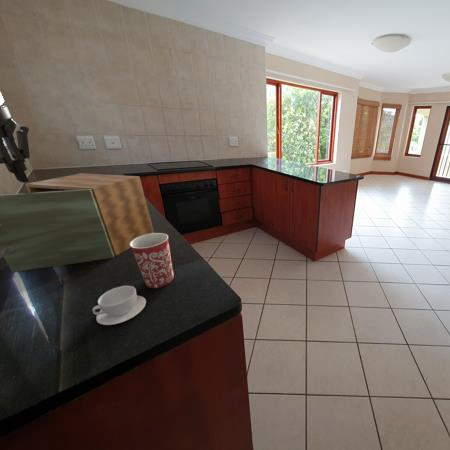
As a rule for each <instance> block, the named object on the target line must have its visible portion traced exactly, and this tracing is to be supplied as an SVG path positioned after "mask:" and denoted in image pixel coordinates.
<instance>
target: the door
mask: <svg viewBox="0 0 450 450" xmlns="http://www.w3.org/2000/svg"><path fill="white" fill-rule="evenodd" d="M115 257H116V256H115V255H114V253H113V250H112V247H111V244H110V241H109V238H108V235H107V232H106V230H105V227H104V224H103V221H102V218H101V215H100V212H99V209H98V207H97V204H96V201H95V198H94V195H93V192H92V189H83V190H67V191H52V192H36V193H29V192H23V193H22V192H21V193H8V194H7V193H6V194H0V259H4V261H5V262H6V264H7V266H8V267H9V269H10V271H11V273H18V272H25V271H30V270H31V271H32V270H39V269H45V268H51V267H59V266H65V265H73V264H80V263H86V262H94V261H100V260H101V261H102V260H107V259H114V258H115Z"/></svg>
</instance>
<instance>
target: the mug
mask: <svg viewBox="0 0 450 450" xmlns="http://www.w3.org/2000/svg"><path fill="white" fill-rule="evenodd" d="M129 245H130V247H131V248H130V249H131V251H132V254H133V255H134V256H133V257H134V258H135V261H136V263H137V266H138V268H139V271H140V274H141V276H142V279H143V281H144V284H145V286H146V287H147V288H150V289H160V288H163V287H166V286H167V285H169V284H170V283H171V282H173V280H174V278H175V275H174V267H173V262H172V257H171V249H170V244H169V235H168V234H167V233H163V232H154V233H151V234H146V235H142V236H140V237H137V238H135V239H134V240H132V241H131V242H130V244H129Z"/></svg>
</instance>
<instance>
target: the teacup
mask: <svg viewBox="0 0 450 450" xmlns="http://www.w3.org/2000/svg"><path fill="white" fill-rule="evenodd" d="M146 304H147V300H146V298H145V297H144V296H141V295H137V289H136V287H134V286H132V285H121V286H117V287H114V288H112V289H109V290H107V291H105V292H104V293H103V294H102V295H100V297H99V298H98V300H97V305H95V306H94V307H93V308H92V314H94V316H96V317H95V319H96V322H97V323H98V324H100V325H103V326H112V325H117V324H121V323H124V322H126V321H129V320H130V319H133V318H134V317H135V316H137V315H138V314H140V313H141V312H142V311H143V310H144V308H145V307H146ZM96 310H99V311H96Z"/></svg>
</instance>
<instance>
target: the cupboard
mask: <svg viewBox="0 0 450 450" xmlns="http://www.w3.org/2000/svg"><path fill="white" fill-rule="evenodd" d="M24 185H25V187H26V190H27V193H36V192H52V191H67V190H83V189H92V192H93V195H94V198H95V201H96V204H97V207H98V209H99V212H100V215H101V218H102V221H103V224H104V227H105V230H106V232H107V235H108V238H109V241H110V244H111V247H112V250H113V253H114V255H115V256H114V257H116V256H117V257H118V255H120V254H122V253H124V252H126V251H127V250H129V249H132V248H131V247H130V245H129V244H130V242H131V241H132V240H134V239H135V238H137V237H140V236H142V235H146V234H151V233H155V232H154V228H153V223H152V220H151V215H150V213H149V212H150V211H149V208H148V204H147V200H146V197H145V193H144V189H143V185H142V181H141V177H140V176H139V175H138V176H136V175H118V174H100V173H83V172H82V173H75V174H71V175H66V176H65V175H64V176H60V177H54V178H50V179H45V180H39V181H34V182H26V183H24Z"/></svg>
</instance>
